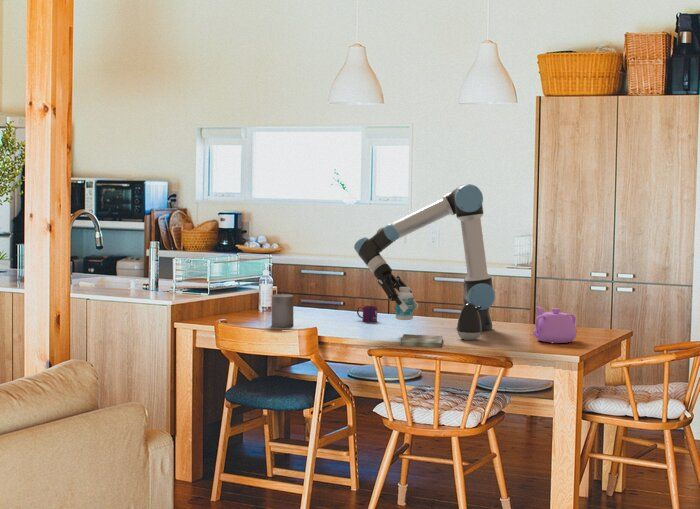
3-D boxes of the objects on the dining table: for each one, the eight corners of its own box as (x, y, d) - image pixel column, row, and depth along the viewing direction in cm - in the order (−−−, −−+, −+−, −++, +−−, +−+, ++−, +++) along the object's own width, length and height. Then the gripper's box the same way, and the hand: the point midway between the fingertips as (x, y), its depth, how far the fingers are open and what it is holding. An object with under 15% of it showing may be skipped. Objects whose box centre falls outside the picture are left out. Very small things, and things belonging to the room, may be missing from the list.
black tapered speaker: (475, 342, 382) (476, 305, 381) (452, 339, 387) (453, 303, 386) (485, 339, 390) (486, 302, 389) (462, 336, 396) (464, 300, 395)
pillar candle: (286, 323, 422) (286, 290, 421) (297, 326, 414) (297, 292, 413) (267, 325, 417) (267, 291, 416) (278, 328, 409) (278, 294, 408)
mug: (372, 322, 432) (372, 308, 432) (353, 320, 438) (354, 306, 438) (379, 321, 438) (380, 306, 438) (361, 319, 444) (362, 304, 443)
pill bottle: (399, 320, 391) (400, 288, 390) (392, 318, 398) (392, 286, 397) (416, 320, 394) (416, 287, 393) (408, 317, 400) (409, 286, 399)
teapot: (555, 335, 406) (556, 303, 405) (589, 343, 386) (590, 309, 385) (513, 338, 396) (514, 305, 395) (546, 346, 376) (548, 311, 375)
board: (442, 339, 387) (442, 335, 387) (441, 347, 367) (441, 343, 367) (403, 337, 389) (403, 334, 389) (400, 345, 369) (400, 341, 369)
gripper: (388, 272, 412) (419, 312, 403) (361, 275, 395) (392, 317, 387) (398, 261, 408) (429, 301, 400) (371, 264, 392) (403, 305, 383)
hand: (411, 309), depth 393 cm, fingers closed on pill bottle, 7 cm apart
